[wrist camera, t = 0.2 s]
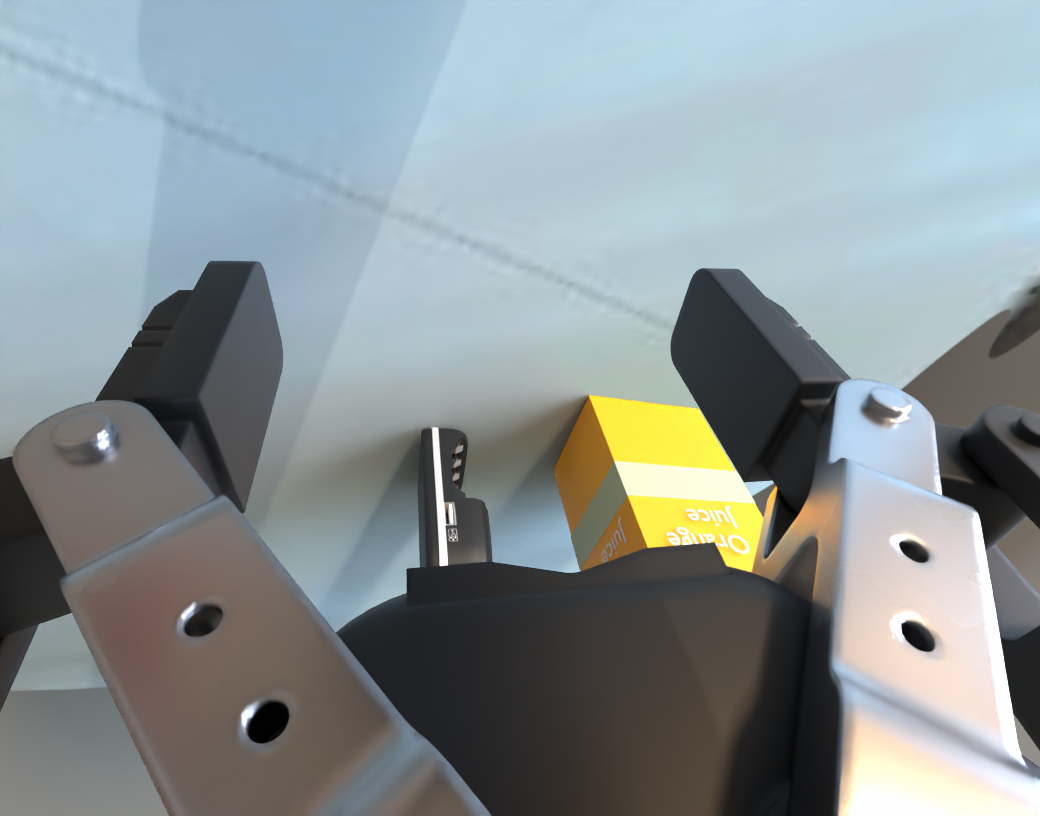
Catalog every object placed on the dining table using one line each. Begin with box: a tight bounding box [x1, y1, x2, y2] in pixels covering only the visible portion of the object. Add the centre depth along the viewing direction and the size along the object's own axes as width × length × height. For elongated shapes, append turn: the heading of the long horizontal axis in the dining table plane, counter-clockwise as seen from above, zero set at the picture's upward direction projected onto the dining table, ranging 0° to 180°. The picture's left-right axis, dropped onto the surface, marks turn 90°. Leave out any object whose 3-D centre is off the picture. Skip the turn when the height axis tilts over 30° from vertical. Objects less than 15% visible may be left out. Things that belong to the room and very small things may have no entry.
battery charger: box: [418, 427, 492, 567], centre depth 34 cm, size 7×4×11 cm, turn 171°
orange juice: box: [554, 395, 764, 572], centre depth 33 cm, size 8×9×20 cm
